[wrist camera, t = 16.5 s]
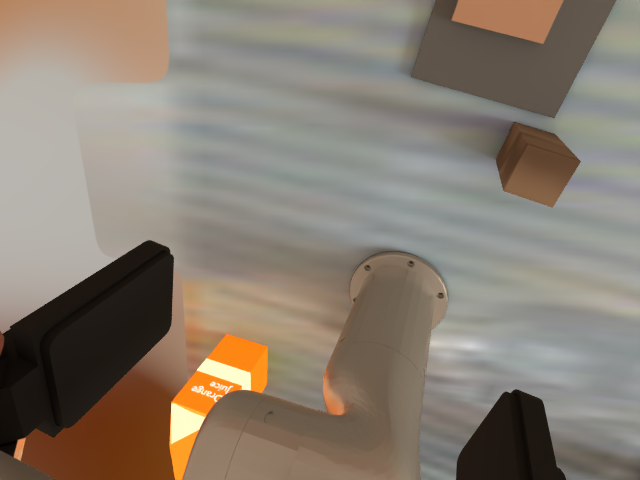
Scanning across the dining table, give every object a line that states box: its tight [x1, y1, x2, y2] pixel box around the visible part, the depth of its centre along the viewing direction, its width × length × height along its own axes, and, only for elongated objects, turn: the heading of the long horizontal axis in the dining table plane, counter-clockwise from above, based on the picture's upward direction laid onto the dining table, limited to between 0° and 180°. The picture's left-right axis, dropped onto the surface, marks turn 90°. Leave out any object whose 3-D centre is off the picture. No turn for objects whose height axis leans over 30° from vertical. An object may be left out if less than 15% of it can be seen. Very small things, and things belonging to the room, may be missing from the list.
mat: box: [411, 0, 616, 118], centre depth 35 cm, size 15×14×1 cm
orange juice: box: [170, 334, 267, 480], centre depth 59 cm, size 8×9×20 cm
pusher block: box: [496, 122, 581, 207], centre depth 35 cm, size 4×4×10 cm
